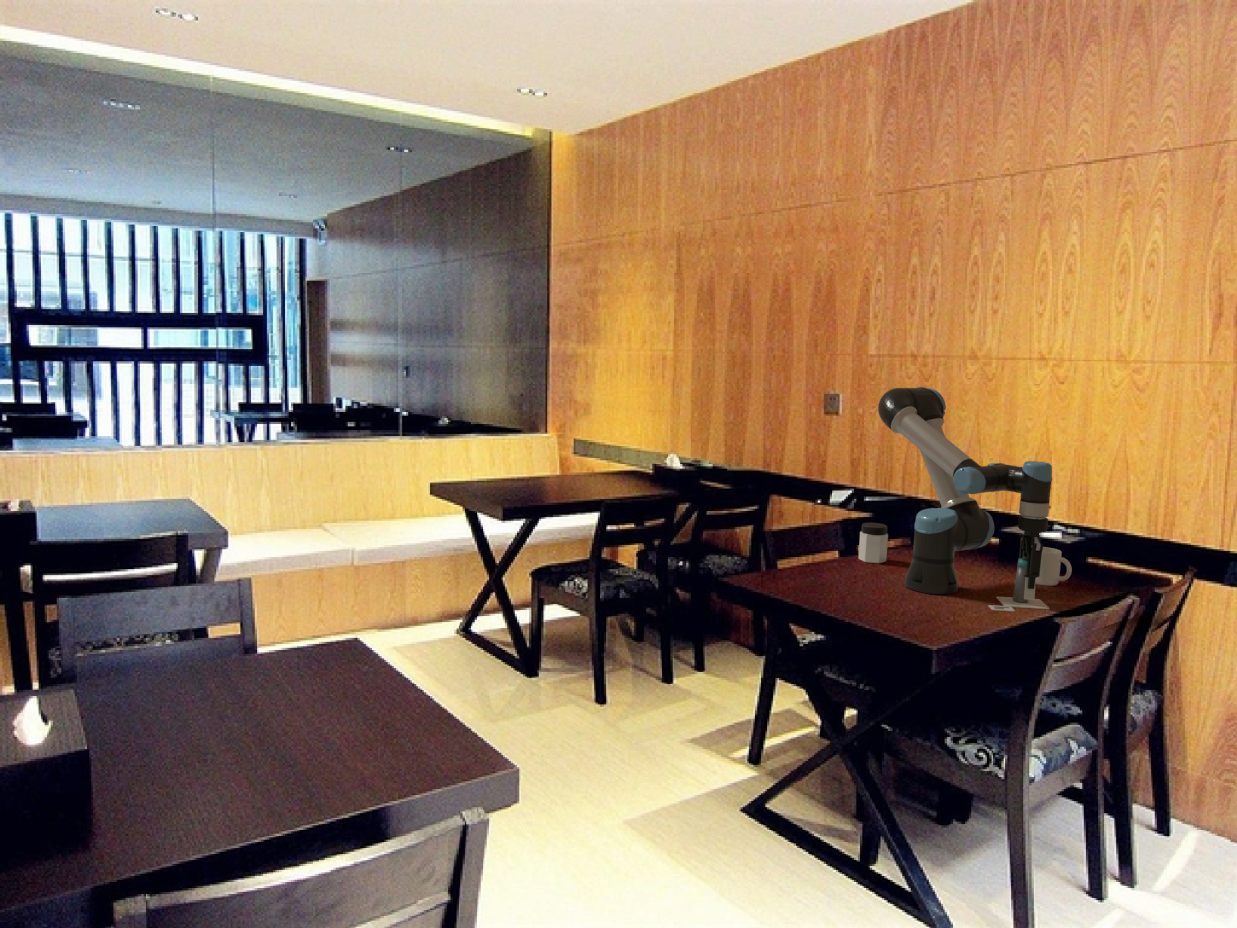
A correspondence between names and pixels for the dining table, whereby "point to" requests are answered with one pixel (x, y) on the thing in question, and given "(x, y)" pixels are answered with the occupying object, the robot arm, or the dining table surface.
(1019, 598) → the grey teal battery
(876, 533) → the jar
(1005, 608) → the word card
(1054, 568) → the mug
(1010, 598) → the paper
